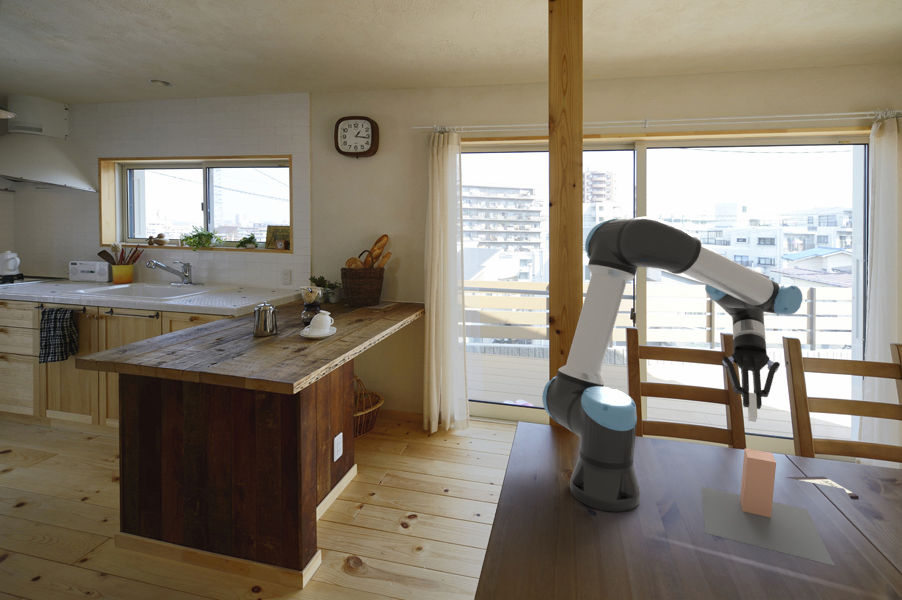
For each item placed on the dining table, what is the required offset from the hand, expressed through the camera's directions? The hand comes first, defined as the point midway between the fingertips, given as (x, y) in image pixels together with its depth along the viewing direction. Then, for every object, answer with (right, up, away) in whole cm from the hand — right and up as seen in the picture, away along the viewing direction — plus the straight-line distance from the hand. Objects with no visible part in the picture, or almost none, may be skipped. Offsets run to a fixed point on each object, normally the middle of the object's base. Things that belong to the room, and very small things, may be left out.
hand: (752, 418), depth 112 cm
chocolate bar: (+9, -16, -4) cm, 19 cm away
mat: (-11, -17, -18) cm, 27 cm away
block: (-9, -16, -14) cm, 23 cm away
